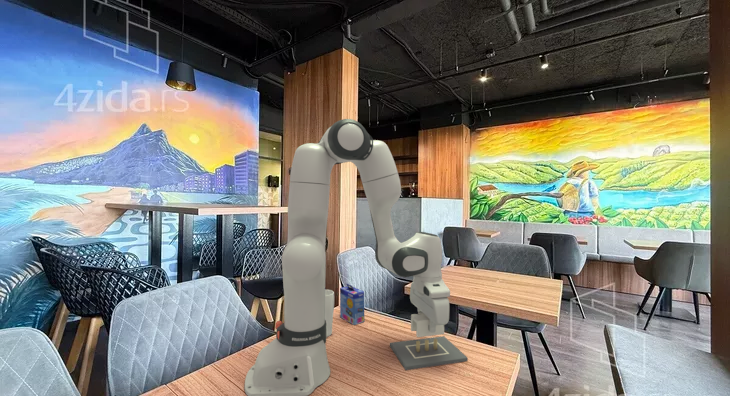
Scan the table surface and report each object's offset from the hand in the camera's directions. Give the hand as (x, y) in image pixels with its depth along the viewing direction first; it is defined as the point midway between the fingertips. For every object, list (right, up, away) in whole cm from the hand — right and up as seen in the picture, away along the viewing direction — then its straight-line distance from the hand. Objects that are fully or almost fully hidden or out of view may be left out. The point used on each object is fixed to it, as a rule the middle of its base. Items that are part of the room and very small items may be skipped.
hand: (427, 327), depth 93 cm
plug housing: (0, -2, 0) cm, 2 cm away
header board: (0, -8, 0) cm, 8 cm away
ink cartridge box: (-25, -8, +25) cm, 36 cm away
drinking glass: (-34, -8, +12) cm, 37 cm away
